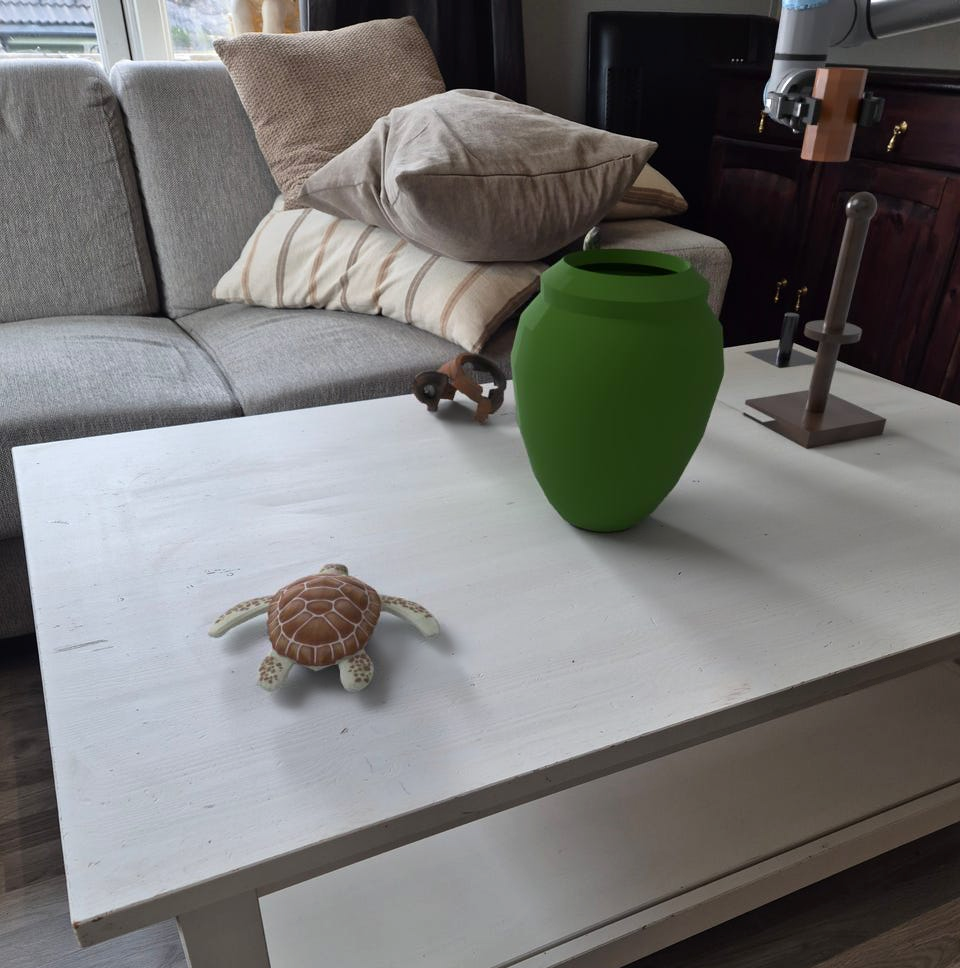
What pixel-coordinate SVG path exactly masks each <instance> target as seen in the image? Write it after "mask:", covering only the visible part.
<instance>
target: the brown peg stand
mask: <svg viewBox="0 0 960 968" xmlns="http://www.w3.org/2000/svg"><path fill="white" fill-rule="evenodd" d="M877 210H878V202H877V198H876V197H875V196H874V195H873V194H872V193H870V192H868V191H860V192H856V193H855V194H853V195H852V196H851V197H850V198H849V199H848V201H847V204H846V205H845V215H846V217H847V219H846V222H845V226H844V232H843V235H842V240H841V245H840V249H839V254H838V258H837V263H836V266H835V267H836V268H835V272H834V276H833V281H832V285H831V289H830V294H829V299H828V303H827V307H826V312H825V316H824V319H821V320H812V321H808V322H807V323H806V324H805V326H804V331H803V334H804V336H805V337H807V338H809V339H811V340H813V341H816V342H819V343H818V347H817V351H816V357H815V358H816V360H815V363H814V365H813V369H812V375H811V378H810V382H809V388H808V389H806V390H801V391H793V392H787V393H782V394H774V395H768V396H761V397H756V398H749V399H745V402H744V405H746V406H748V407H750V408H752V409H754V410H755V411H758V412H760V413H761V414H763V415H765V416H766V417H769V418H771V419H773V420H767V421H761V420H760V419H758V418H757V417H754V416H752V415H751V414H749V413H747V412H742V415H743V416H744V417H746V418H748V419H750V420H751V421H754V422H756V423H758V424H760V425H761V426H763V427H765V428H767V429H769V430H770V431H772V432H774V433H776V434H777V435H780V436H782V437H784V438H786V439H788V440H790V441H791V442H793V443H795V444H797V445H799V446H801V447H803V448H804V449H811V448H817V447H822V446H827V445H832V444H838V443H843V442H848V441H849V442H850V441H853V440H859V439H864V438H870V437H871V438H872V437H877V436H881V435H883V434H884V430H885V427H886V423H887V418H885V417H883V416H881V415H879V414H876V413H875V412H872V411H870V410H868V409H866V408H863V407H862V406H859V405H857V404H854V403H852V402H850V401H848V400H846V399H843V398H841V397H839V396H837V395H834V394H832V393H830V390H831V386H832V382H833V377H834V373H835V369H836V365H837V361H838V356H839V353H840V348H841V345H846V344H847V345H848V344H849V345H850V344H854V343H858V342H859V341H860V340H861V337H862V332H863V329H862V328H861V327H859V326H857V325H855V324H852V323H849V322H847V318H848V314H849V310H850V306H851V301H852V298H853V294H854V289H855V285H856V281H857V277H858V273H859V269H860V265H861V264H860V263H861V260H862V256H863V252H864V247H865V244H866V240H867V239H866V238H867V235H868V231H869V226H870V222H871V219H872V218H873V217H874V216H875V214H876V212H877Z"/></svg>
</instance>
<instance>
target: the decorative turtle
mask: <svg viewBox="0 0 960 968" xmlns="http://www.w3.org/2000/svg"><path fill="white" fill-rule="evenodd" d="M382 612H383V613H388V614H391V615H393V616H395V617H397V618H399V619H400V620H402V621H404V622H406V623H408V624H409V625H411V626H414V628H416V629H417V630H418V631H419V632H420V633H421V634H422V635H423V637H425V638H426V639H429V640H431V639H436V638H437V637H439V635H440V633H441V628H440V627H441V626H440V624H439V621H438V620H437V618H436V617H435V616H434V615H433V613H431V612H430V611H429V610H428V609H427V608H425V607H424V606H423V605H421V604H419V603H418V602H415V601H412V600H411V599H407V598H401V597H397V596H391V595H384V594H379V593H378V592H377V590H376V589H375V588H374V587H372V586H371V585H369V584H367V583H365V582H364V581H362V580H360V579H359V578H357V577H354V576H353V575H349V568H348V567H347V566H346V564H345V565H344V564H342V563H327V564H324V565H323V566H321V567H320V569H319V572H318V573H317V574H310V575H307V576H303V577H301V578H298V579H296V580H294V581H292V582H291V583H289V584H287V585H285V586H284V587H281V588H280V589H279V590H278V591H277V592H276V593H275V594H272V595H265V596H260V597H256V598H252V599H248V600H245V601H243V602H240V603H238V604H236V605H234V606H233V607H231V608H229V609H228V610H226V611H225V612H224V613H222V614H221V615H220V616H219V617H218V618H216V619H215V620H214V621H213V623H212V624H211V625H210V627H209V628H208V631H207V636H209V637H210V638H214V639H219V638H222V637H223V636H224V635H226V633H228V632H229V631H230V630H232V629H233V628H236V627H238V626H240V625H242V624H244V623H246V622H249V621H250V620H253V619H254V618H256V617H258V616H261V615H264V614H266V613H267V620H266V626H267V630H266V631H267V635H268V641H270V643H271V648H272V649H271V651H270V652H269V653H268V654H267V655H266V657H265V658H264V659H263V660H262V661H261V663H260V664H259V666H258V668H257V670H256V681H257V683H258V686H259V687H260V688H261V689H262V690H264V691H267V692H277V691H279V690H281V688H282V686H283V685H284V684H285V683H286V681H287V679H288V677H289V674H290V671H291V670H292V668H293V667H294V665H300V666H302V667H305V668H307V669H309V670H312V671H314V672H318V671H319V672H320V671H321V670H324V669H326V668H329V667H331V666H334V665H338V669H339V676H340V677H339V678H340V682H341V684H342V687H343V688H344V690H345V691H348V693H349V692H351V693H353V692H359V691H361V690H363V689H365V688H366V687H367V686H368V685H369V684H370V683H371V681H372V679H373V677H374V673H375V666H374V663H373V661H372V660H371V658H370V657H369V654H368V653H367V652H366V650H365V647H366V645H367V644H368V641H369V639H370V638H371V637H372V635H373V634H374V631H375V629H376V627H377V623H378V620H379V618H380V617H381V613H382Z"/></svg>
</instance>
